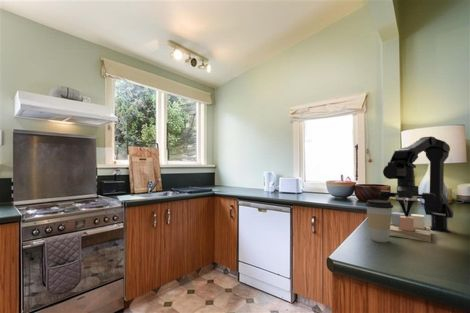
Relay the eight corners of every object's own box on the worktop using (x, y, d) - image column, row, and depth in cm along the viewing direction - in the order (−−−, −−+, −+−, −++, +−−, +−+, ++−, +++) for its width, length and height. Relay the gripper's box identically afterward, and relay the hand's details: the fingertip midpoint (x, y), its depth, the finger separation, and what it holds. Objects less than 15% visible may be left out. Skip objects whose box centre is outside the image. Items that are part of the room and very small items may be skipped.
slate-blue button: (392, 223, 111) (392, 212, 111) (404, 224, 108) (404, 213, 108) (391, 224, 107) (391, 213, 108) (404, 226, 104) (403, 214, 105)
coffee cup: (368, 235, 100) (367, 198, 100) (395, 239, 94) (394, 200, 94) (363, 240, 92) (362, 201, 93) (392, 245, 86) (391, 203, 87)
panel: (389, 227, 113) (388, 222, 113) (430, 232, 104) (429, 227, 104) (384, 234, 101) (384, 228, 101) (430, 241, 91) (430, 235, 91)
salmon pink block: (400, 227, 102) (400, 215, 103) (413, 229, 100) (413, 217, 100) (399, 229, 99) (399, 217, 99) (413, 231, 96) (413, 218, 96)
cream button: (411, 225, 106) (411, 213, 107) (424, 226, 104) (424, 215, 104) (411, 227, 103) (410, 215, 103) (424, 228, 100) (424, 216, 100)
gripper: (376, 178, 100) (377, 216, 99) (435, 180, 88) (436, 223, 87) (380, 177, 108) (381, 212, 108) (434, 179, 97) (435, 218, 96)
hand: (406, 216), depth 99 cm, fingers closed
